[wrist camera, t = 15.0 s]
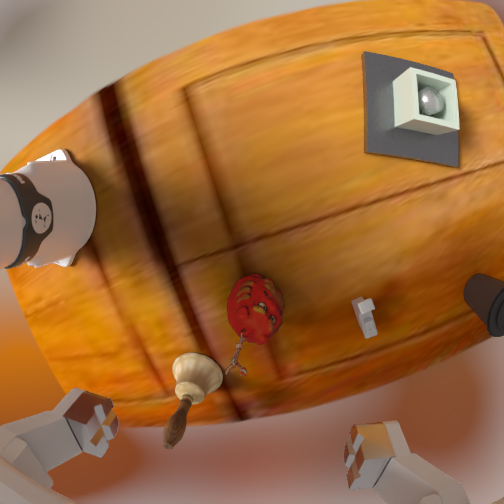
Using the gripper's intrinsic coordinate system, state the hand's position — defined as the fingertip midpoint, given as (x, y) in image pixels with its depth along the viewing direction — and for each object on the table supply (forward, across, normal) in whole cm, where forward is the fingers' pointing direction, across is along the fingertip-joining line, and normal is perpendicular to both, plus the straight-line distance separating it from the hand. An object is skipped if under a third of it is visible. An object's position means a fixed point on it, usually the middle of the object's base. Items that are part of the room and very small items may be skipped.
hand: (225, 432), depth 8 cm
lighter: (+31, -13, +8) cm, 35 cm away
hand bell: (+31, +10, +22) cm, 40 cm away
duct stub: (+31, -19, -19) cm, 41 cm away
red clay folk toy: (+31, +1, +8) cm, 32 cm away
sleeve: (+30, -19, -19) cm, 40 cm away
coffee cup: (+31, -34, +6) cm, 47 cm away
